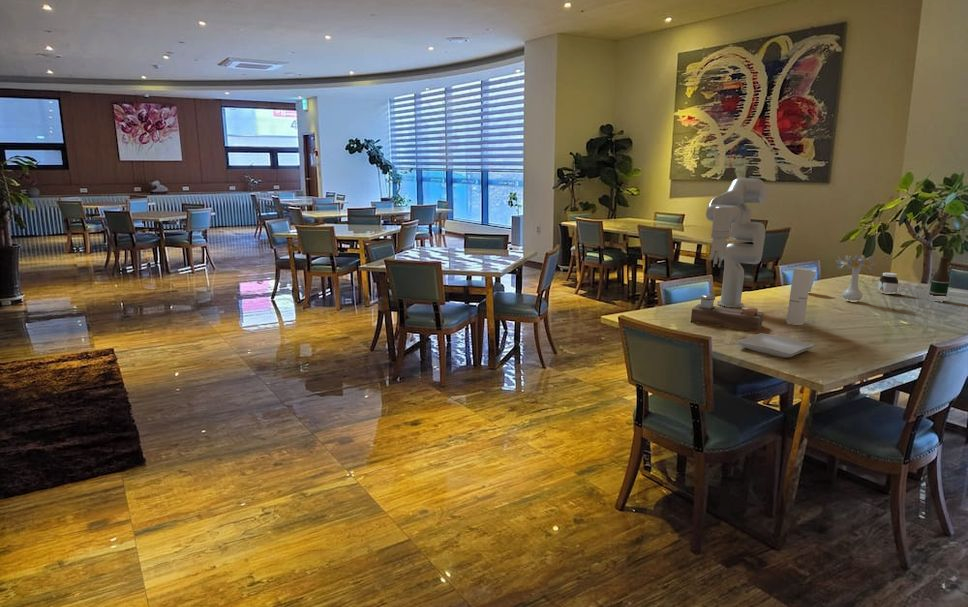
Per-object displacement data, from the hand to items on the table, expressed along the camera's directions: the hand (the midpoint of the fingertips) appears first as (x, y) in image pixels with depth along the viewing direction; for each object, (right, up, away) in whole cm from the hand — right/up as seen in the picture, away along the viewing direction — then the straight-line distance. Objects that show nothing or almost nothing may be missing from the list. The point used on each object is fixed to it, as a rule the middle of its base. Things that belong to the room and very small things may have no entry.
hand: (716, 275), depth 274 cm
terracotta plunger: (+13, -21, -4) cm, 24 cm away
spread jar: (+128, -7, +75) cm, 149 cm away
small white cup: (-3, -15, +5) cm, 16 cm away
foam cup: (+78, -6, +75) cm, 108 cm away
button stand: (+5, -21, +1) cm, 22 cm away
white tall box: (+37, -22, +4) cm, 43 cm away
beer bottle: (+142, -11, +60) cm, 154 cm away
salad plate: (+9, -31, -36) cm, 48 cm away
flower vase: (+91, -11, +54) cm, 107 cm away
